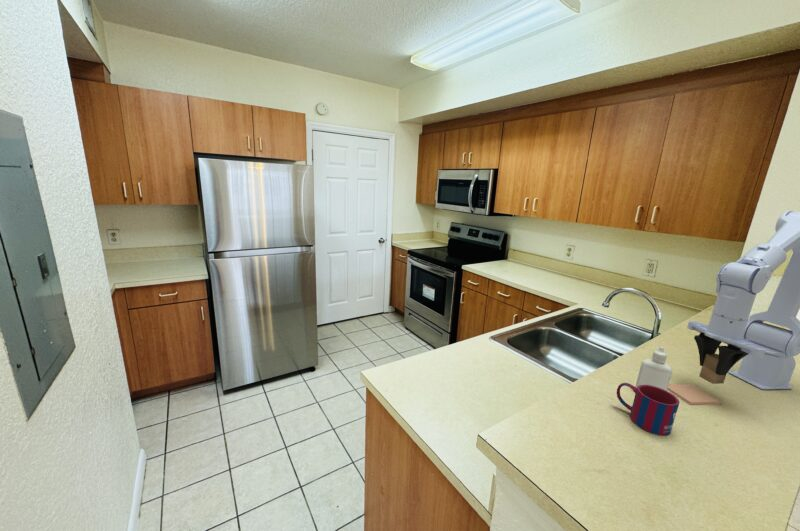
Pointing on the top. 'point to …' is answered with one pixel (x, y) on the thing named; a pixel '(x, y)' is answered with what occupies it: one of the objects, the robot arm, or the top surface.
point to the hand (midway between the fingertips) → (712, 369)
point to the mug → (652, 408)
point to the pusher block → (711, 370)
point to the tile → (692, 394)
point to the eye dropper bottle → (655, 371)
